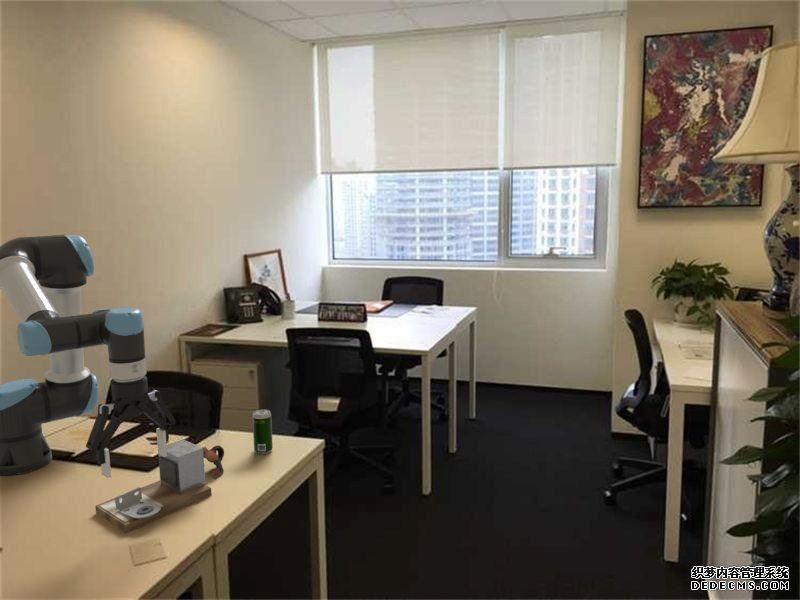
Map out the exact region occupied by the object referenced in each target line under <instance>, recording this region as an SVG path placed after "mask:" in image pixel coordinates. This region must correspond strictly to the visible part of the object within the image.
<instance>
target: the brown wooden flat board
mask: <svg viewBox="0 0 800 600" xmlns="http://www.w3.org/2000/svg"><path fill="white" fill-rule="evenodd" d="M140 488H141V493H142V499H141V500H140V501H143V500H145V501H148V502H151V503H154V504H157V505H159V506H160V508H161V509H160V511H159V512H158V513H156V514H154V515H152V516H150V517H146V518H140V519H136V518H132V517H129V516H126V515H124V514H121V513H119V511H120V510H119V509H118V510H116V504H115V498H111V499H108V500H106V501H105V502H101V503H99V504H96V505H95V514H96V515H98V516H99V517H101V518H102V519H103V520H105V521H107V522H108V523H110V525H113V526H114V527H116V528H117V529H118V530H120V531H122V532H123V533H125V534H127V533H130V532H132V531H135V530H136V529H139V528H141V527H143V526H145V525H148V524H150V523H153V522H154V521H157V520H159V519H161V518H164V517H167V516H168V515H170V514H173V513H175V512H177V511H179V510H181V509H184V508H186V507H188V506H191V505H192V504H196V503H197V502H200V501H202V500H204V499H206V498H208V497H210V496H212V487H211V486H209V485H206V484H205V485H204V486H202V487H199V488H197V489H195V490H192V491H190V492H188V493H185V494H183V495H179V494H177V493H175V492H173V491H172V490H170V489H168V488H166V487H164V486H162V485H161V480H160V479H159V480H157V481H154V482H152V483H150V484H147V485H145V486H141V487H140ZM138 493H139V491H137V492H135V494H134V495H137V494H138ZM119 501H120V503H121V502H122V497H121V498H120V499H119ZM140 504H143V503H140ZM127 511H128V510H127ZM125 512H126V511H125Z"/></svg>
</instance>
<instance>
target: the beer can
mask: <svg viewBox="0 0 800 600" xmlns="http://www.w3.org/2000/svg"><path fill="white" fill-rule="evenodd" d="M272 423H273V422H272V413H271V410H269V409H258V410H255V411H253V412H252V432H253V433H252V434H253V435H252V436H253V437H252V439H253V450H254V452H255V454H257V455H267V454H270V453H271V452H273V447H274V446H273V427H272V426H273V424H272Z"/></svg>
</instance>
